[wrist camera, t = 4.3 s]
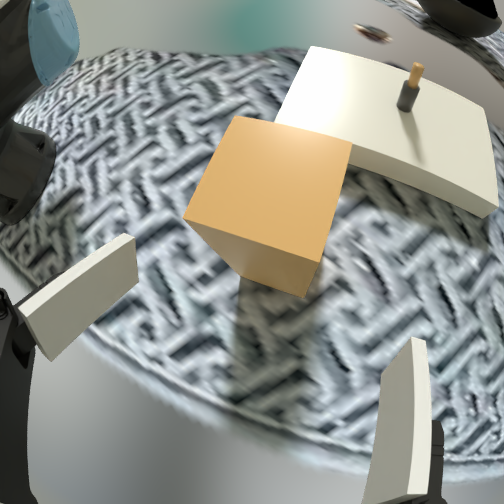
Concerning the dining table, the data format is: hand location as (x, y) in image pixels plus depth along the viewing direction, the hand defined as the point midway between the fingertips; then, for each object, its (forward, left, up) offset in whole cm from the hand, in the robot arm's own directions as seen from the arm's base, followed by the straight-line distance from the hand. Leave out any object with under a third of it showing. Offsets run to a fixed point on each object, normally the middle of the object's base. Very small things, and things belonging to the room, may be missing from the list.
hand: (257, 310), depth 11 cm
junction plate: (+6, +22, -9) cm, 24 cm away
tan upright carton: (-1, +5, -9) cm, 10 cm away
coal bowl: (+18, +62, -10) cm, 65 cm away
